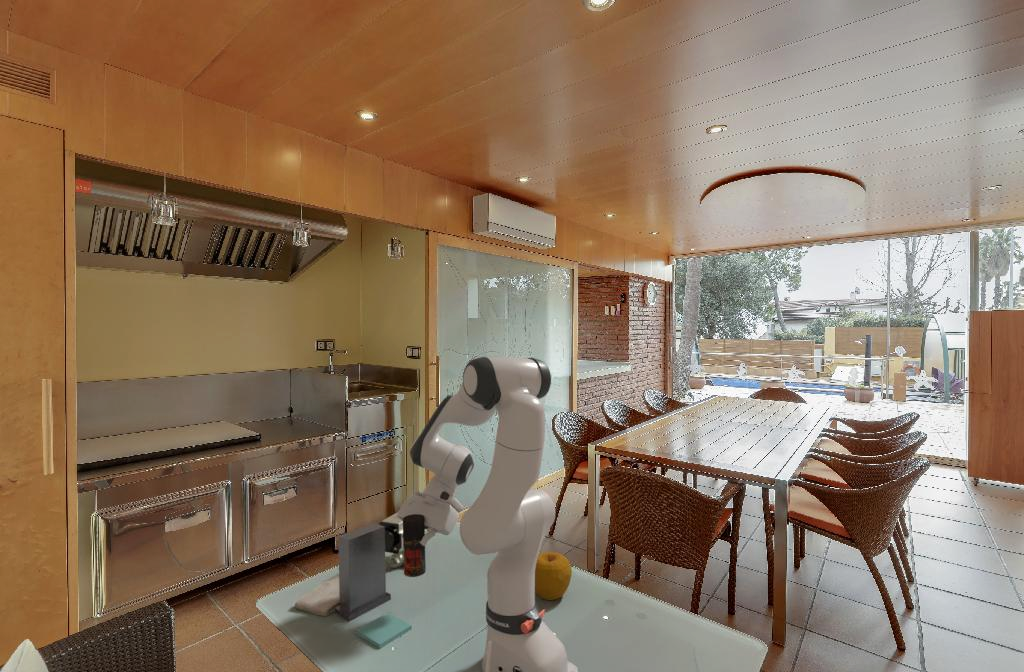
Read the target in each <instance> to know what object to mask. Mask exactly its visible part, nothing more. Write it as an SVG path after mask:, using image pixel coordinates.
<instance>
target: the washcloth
mask: <svg viewBox="0 0 1024 672" xmlns="http://www.w3.org/2000/svg"><path fill="white" fill-rule="evenodd" d="M339 605H340V598H339V575H337V576H335V577H334V578H332V579H330V580H327V581H326V580H325V581H323V582H322V583H320V585H318V586H317V587H315V588H313V589H311V590H310V591H309V592H308V593H306V594H304V595H302V596H300V597H299V599H297V600H296V601H295V603H294V608H295V609H297V610H299V609H300V611H302V610H304V611H303V612H308V611H309V612H308V613H312V614H313V613H314V614H313V615H319V616H321V615H322V616H321V617H328V616H329V615H331V614H332V613H333V612H335V610H334V608H335V607H337V606H339Z"/></svg>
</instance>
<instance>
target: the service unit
mask: <svg viewBox="0 0 1024 672" xmlns="http://www.w3.org/2000/svg"><path fill="white" fill-rule="evenodd" d="M337 537H338V540H337V541H338V576H339V598H340V605H339V606H337V607H335V608H334V610H335V611H334V614H335V615H337V616H338V617H340V618H342V619H343V620H344V621H347V622H349V623H350V622H351V621H354V620H355V619H358V618H359V617H361V616H363V615H364V614H367V613H368V612H370V611H372V610H374V609H376V608H378V607H380V606H382V605H383V604H385V603H387V602H389V601H390V600H392V594H391V593H389V592H387V590H386V589H387V588H386V587H387V584H386V583H387V581H386V552H385V526H382V525H379V524H378V523H376V522H373V523H370V524H368V525H364V526H362V527H359V528H356V529H354V530H351V531H349V532H346V533H343V534H340V535H338V536H337Z"/></svg>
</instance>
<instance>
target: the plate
mask: <svg viewBox="0 0 1024 672" xmlns="http://www.w3.org/2000/svg"><path fill="white" fill-rule="evenodd" d="M412 627H413V626H412V624H410V623H408V622H406V621H404V620H403V619H401V618H398V617H397V616H395V615H393V614H392V613H390V612H387V613H385V614H383V615H381V616H380V617H377V618H376V619H374V620H372V621H370V622H368V623H366V624H364V625H363V626H361V627H360V628H358V629H356V631H355V632H356V635H358V637H360V638H362V639H363V640H366V641H367V642H369V643H370V644H372V645H374V646H375V647H377V648H378V649H381V648H383V647H386V646H387V645H388V644H390V643H391V642H393V641H394V640H396V639H398V638H399V637H401V636H403V635H404V634H406V633H408V632H410V631H411V630H412Z"/></svg>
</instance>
